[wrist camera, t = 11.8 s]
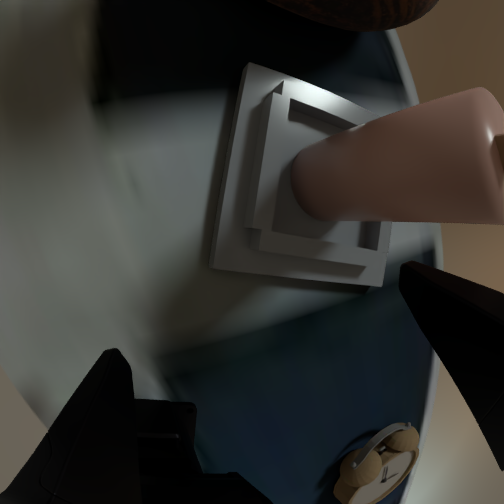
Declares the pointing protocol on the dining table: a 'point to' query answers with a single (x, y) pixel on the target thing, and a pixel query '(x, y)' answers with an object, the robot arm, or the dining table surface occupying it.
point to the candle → (410, 166)
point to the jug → (359, 12)
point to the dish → (288, 188)
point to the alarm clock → (378, 465)
